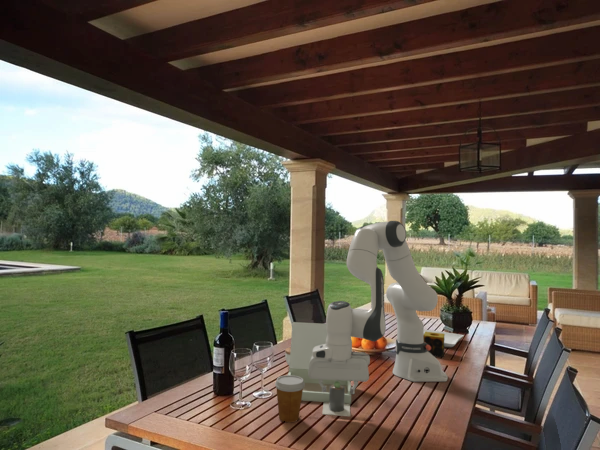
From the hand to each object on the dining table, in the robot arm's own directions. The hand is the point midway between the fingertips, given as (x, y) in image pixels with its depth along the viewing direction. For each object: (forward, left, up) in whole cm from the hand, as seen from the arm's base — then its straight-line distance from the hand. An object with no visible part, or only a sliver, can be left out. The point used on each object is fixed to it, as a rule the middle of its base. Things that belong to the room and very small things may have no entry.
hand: (338, 392), depth 133 cm
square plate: (-56, -104, -7) cm, 118 cm away
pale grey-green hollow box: (+7, -18, -6) cm, 20 cm away
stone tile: (0, 0, -6) cm, 6 cm away
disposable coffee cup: (+15, +8, -6) cm, 18 cm away
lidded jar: (+18, -42, -6) cm, 47 cm away
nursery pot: (0, 0, -5) cm, 5 cm away
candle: (-49, -77, -6) cm, 92 cm away
